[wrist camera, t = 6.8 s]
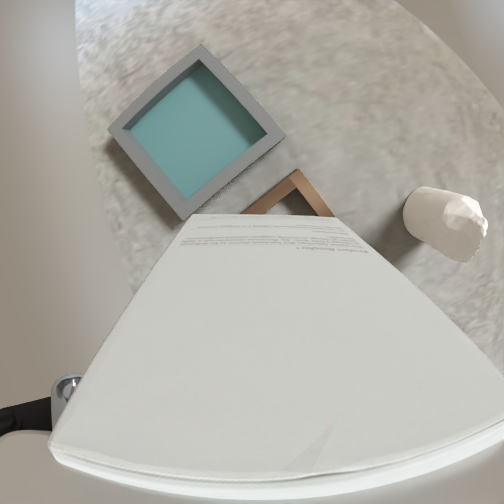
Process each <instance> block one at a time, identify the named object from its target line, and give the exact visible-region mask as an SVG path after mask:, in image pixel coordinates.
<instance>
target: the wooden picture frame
mask: <svg viewBox="0 0 504 504" xmlns="http://www.w3.org/2000/svg"><path fill="white" fill-rule="evenodd" d="M295 188H297V190H298V191H299V192H300V193H301V195H302V196H303V197H304V199H305V200H306V201H307V202H308V204H309V205H310V206H311V208H312V209H313V210H314V212H315V213H316V214H317V216H319V217H335V216H334V215H333V213H332V212H331V211H330V209H329V208H328V207H327V205H326V204H325V203H324V201H323V200H322V198H321V197H320V196H319V195H318V193H317V192H316V191H315V189H314V188H313V187H312V185H311V184H310V183H309V181H308V180H307V179H306V178H305V176H304V175H303V174H302V172H301V171H300V170H299V169H295V170H294V171H293V172H292V173H290V174H289V175H288V176H286V177H285V178H284V179H283V180H281V181H280V182H279V183H278V184H276V185H275V186H274V187H272V188H271V189H270V190H269V191H267V192H266V193H265V194H264V195H262V196H261V197H260V198H259V199H257V200H256V201H255V202H254V203H252V204H251V205H250V206H249V207H247V208H246V209H245V210H244V211H243V212H241V213H240V214H254V215H262V214H263V213H265V212H266V211H267V210H268V209H270V208H271V207H272V206H273V205H275V204H276V203H277V202H278V201H280V200H281V199H282V198H284V197H285V196H286V195H287V194H289V193H290V192H291V191H292V190H294V189H295Z"/></svg>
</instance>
